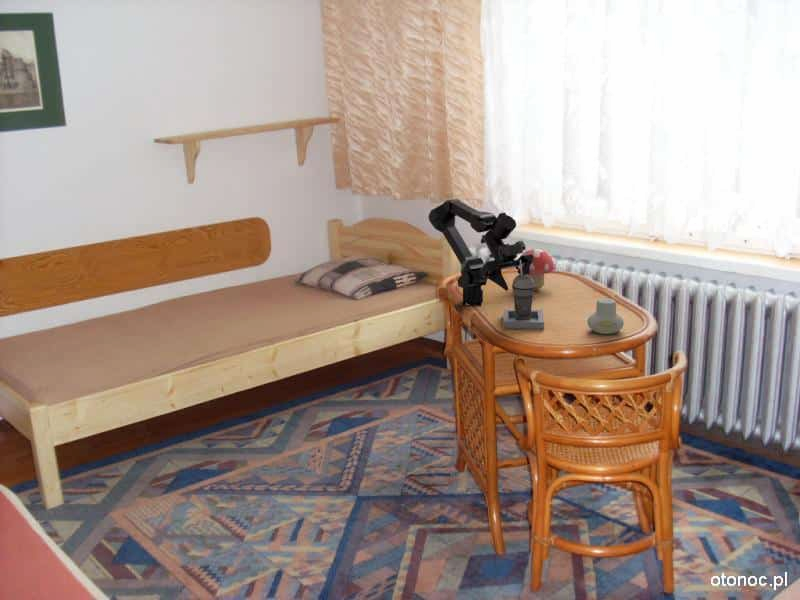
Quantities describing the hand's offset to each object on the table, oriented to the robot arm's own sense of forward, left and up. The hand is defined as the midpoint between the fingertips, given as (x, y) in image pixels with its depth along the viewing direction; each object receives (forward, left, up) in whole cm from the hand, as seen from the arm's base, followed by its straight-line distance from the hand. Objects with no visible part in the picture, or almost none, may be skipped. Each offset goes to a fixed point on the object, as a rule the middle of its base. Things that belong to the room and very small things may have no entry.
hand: (518, 287), depth 281 cm
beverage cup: (+1, -2, -11) cm, 11 cm away
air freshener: (+27, -9, -12) cm, 30 cm away
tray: (+2, -2, -11) cm, 12 cm away
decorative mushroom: (+7, +36, -12) cm, 38 cm away
